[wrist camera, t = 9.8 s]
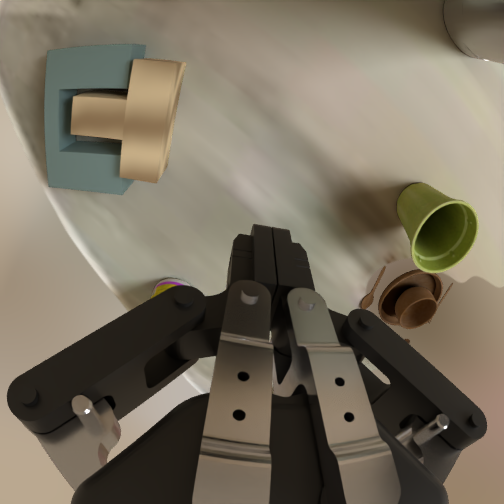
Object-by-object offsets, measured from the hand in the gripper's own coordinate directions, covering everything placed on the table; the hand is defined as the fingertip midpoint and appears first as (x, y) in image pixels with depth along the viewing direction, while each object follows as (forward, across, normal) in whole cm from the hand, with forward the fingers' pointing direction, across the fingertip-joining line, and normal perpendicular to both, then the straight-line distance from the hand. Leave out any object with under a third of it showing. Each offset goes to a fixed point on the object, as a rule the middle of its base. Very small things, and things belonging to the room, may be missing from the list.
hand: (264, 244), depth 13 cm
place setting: (+22, -30, +24) cm, 44 cm away
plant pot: (+22, -22, +4) cm, 31 cm away
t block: (+22, +14, 0) cm, 26 cm away
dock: (+22, +17, 0) cm, 28 cm away
